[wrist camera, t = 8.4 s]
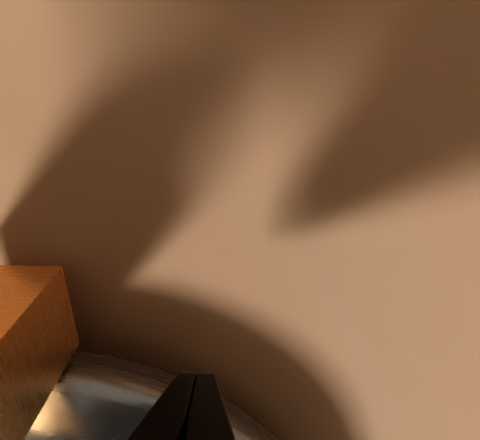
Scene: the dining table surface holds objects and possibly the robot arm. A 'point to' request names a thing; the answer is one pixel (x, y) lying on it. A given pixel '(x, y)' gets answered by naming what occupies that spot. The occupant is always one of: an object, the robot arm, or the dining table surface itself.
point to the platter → (71, 371)
